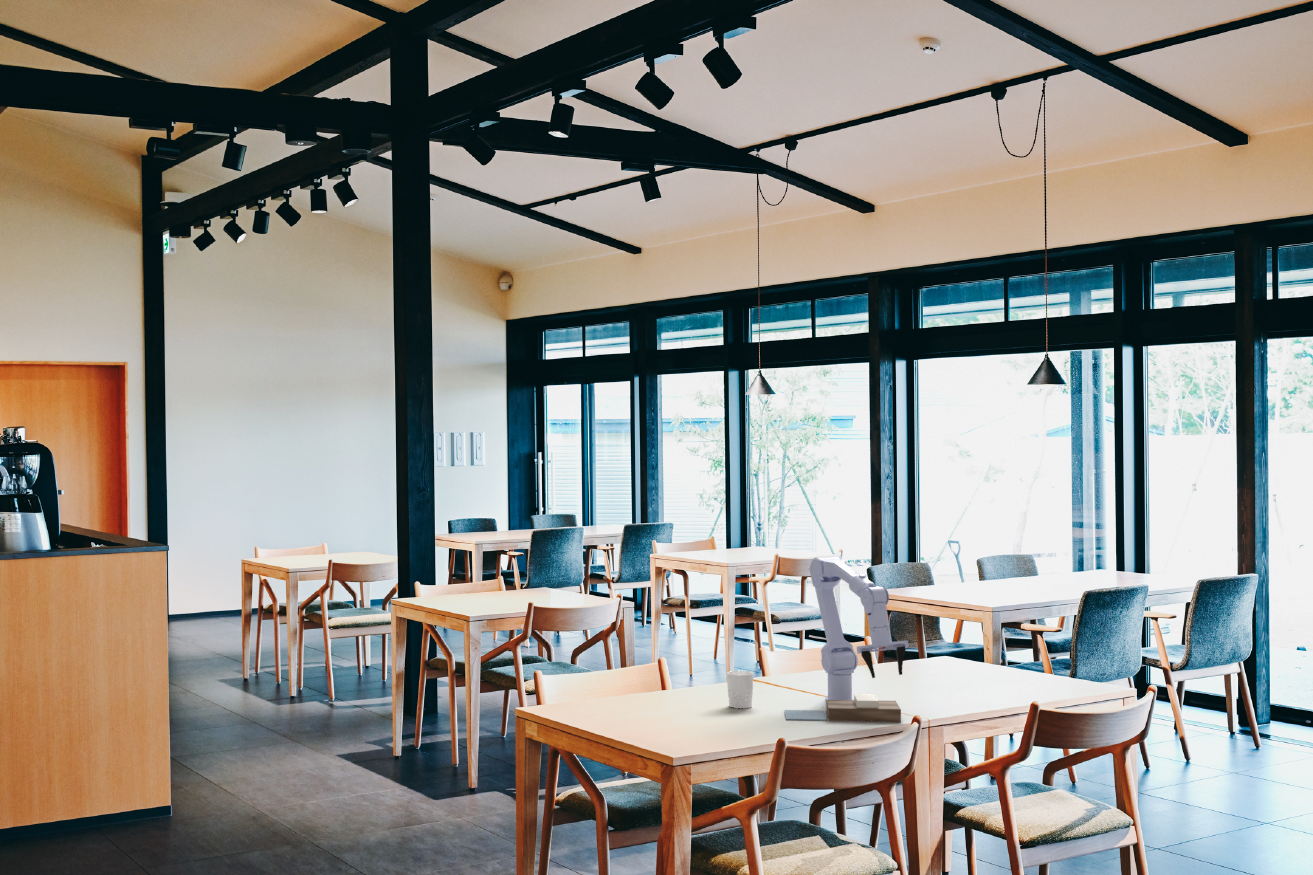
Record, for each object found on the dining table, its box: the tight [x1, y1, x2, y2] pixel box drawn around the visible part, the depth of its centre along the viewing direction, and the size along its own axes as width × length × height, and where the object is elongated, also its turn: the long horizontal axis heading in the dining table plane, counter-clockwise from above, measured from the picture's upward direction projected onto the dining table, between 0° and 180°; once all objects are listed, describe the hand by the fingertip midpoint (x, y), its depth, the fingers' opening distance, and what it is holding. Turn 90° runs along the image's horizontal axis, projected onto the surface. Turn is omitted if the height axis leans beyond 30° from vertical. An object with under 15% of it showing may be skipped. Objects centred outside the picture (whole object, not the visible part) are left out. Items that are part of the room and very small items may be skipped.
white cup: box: [726, 670, 754, 710], centre depth 347 cm, size 8×8×10 cm
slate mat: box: [784, 709, 828, 722], centre depth 333 cm, size 12×12×1 cm
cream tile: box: [853, 693, 880, 708], centre depth 332 cm, size 9×6×2 cm, turn 175°
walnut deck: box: [825, 699, 902, 723], centre depth 332 cm, size 12×20×4 cm, turn 85°
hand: (887, 676), depth 331 cm, fingers open, 7 cm apart
